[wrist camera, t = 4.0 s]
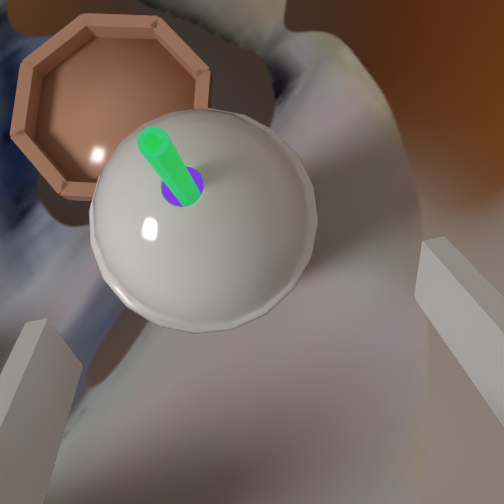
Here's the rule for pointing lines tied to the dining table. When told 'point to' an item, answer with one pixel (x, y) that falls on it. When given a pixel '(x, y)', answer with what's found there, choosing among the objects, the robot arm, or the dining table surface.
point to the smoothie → (203, 220)
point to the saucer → (100, 94)
